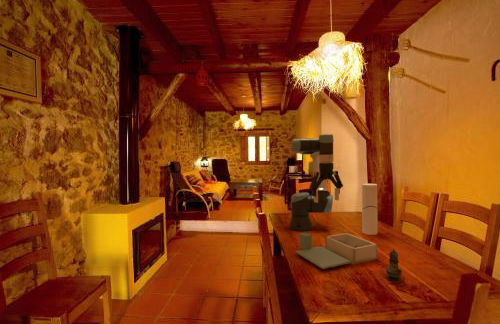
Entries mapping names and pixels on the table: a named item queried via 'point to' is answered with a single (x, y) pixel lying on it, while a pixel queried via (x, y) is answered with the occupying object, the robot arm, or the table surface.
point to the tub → (351, 248)
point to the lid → (318, 253)
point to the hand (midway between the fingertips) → (326, 201)
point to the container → (369, 209)
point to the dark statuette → (393, 268)
